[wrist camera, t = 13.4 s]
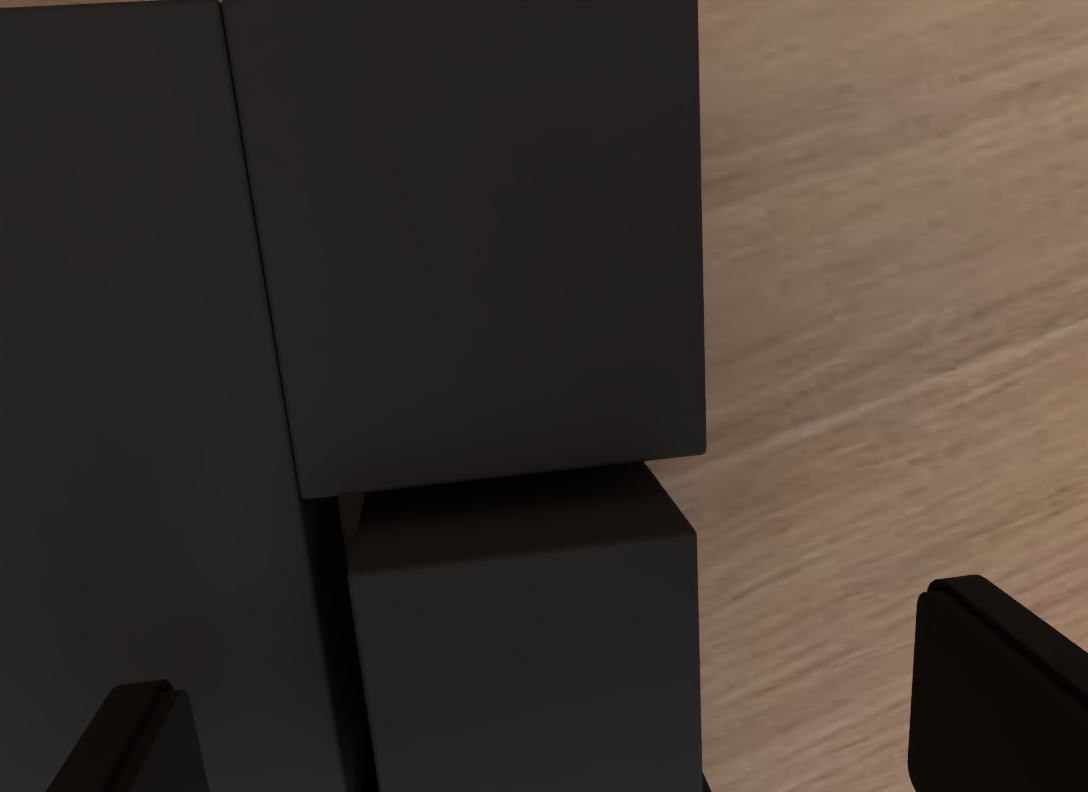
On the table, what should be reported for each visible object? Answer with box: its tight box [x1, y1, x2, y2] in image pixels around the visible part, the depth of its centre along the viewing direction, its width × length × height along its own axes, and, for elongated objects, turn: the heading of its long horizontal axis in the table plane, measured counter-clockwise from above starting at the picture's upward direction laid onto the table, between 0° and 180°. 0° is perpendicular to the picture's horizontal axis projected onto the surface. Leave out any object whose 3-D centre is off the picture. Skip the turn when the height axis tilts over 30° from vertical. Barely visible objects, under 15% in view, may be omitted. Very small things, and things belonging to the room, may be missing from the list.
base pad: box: [0, 0, 711, 792], centre depth 13 cm, size 18×18×3 cm
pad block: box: [347, 461, 703, 792], centre depth 13 cm, size 4×4×4 cm
